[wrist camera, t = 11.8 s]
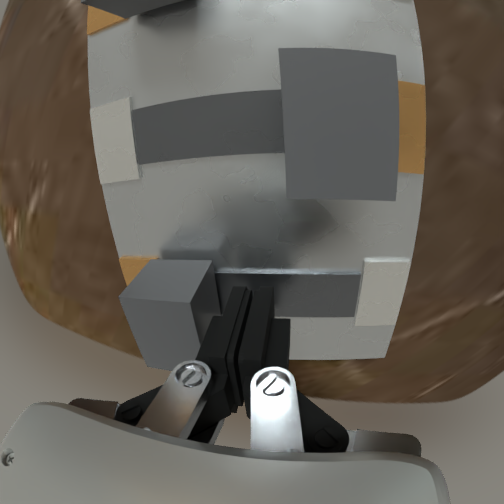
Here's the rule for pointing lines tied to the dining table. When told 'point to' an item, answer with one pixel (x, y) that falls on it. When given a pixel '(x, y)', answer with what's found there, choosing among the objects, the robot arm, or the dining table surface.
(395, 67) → the toggle
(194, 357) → the toggle
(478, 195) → the dining table surface
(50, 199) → the dining table surface
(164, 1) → the toggle
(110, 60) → the switch panel
